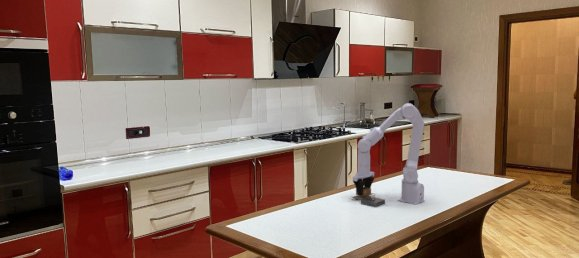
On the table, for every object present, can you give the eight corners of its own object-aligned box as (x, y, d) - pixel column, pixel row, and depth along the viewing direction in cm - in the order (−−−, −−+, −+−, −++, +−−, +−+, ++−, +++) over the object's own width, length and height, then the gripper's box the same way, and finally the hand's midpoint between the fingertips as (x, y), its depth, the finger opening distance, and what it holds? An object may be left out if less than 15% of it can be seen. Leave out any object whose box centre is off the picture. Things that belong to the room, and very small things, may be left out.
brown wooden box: (371, 194, 199) (371, 188, 199) (364, 196, 196) (364, 190, 196) (362, 192, 203) (362, 186, 203) (355, 194, 199) (355, 188, 199)
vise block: (385, 203, 190) (385, 194, 189) (376, 207, 185) (376, 197, 184) (369, 200, 195) (369, 190, 195) (360, 203, 191) (360, 193, 190)
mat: (374, 197, 200) (374, 196, 200) (365, 200, 195) (365, 199, 195) (361, 195, 205) (361, 193, 204) (352, 198, 200) (352, 196, 200)
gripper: (365, 161, 206) (365, 189, 207) (347, 166, 196) (347, 195, 197) (378, 163, 201) (377, 191, 202) (360, 168, 191) (359, 198, 192)
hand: (363, 193), depth 199 cm, fingers closed on brown wooden box, 5 cm apart
